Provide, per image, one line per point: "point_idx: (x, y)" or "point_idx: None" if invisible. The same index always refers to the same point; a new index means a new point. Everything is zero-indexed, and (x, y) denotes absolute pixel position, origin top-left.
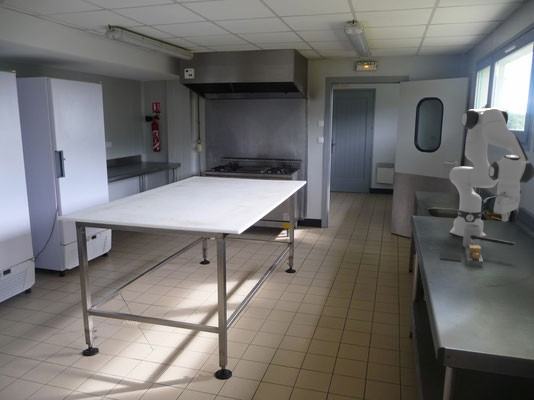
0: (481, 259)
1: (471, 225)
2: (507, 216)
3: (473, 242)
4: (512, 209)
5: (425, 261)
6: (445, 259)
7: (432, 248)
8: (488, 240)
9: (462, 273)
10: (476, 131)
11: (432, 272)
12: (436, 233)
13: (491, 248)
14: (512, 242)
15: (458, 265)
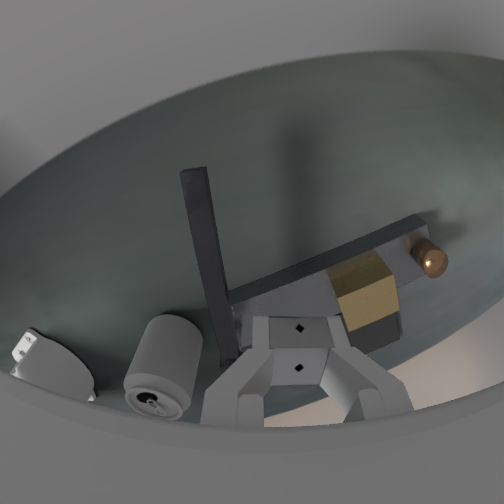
0: (407, 237)
1: (156, 409)
2: (267, 363)
3: (238, 339)
4: (187, 446)
5: (432, 345)
6: (397, 327)
7: (293, 390)
8: (229, 301)
9: (485, 241)
10: None
11: (498, 293)
12: None
13: (113, 280)
14: (194, 184)
15: (428, 279)
